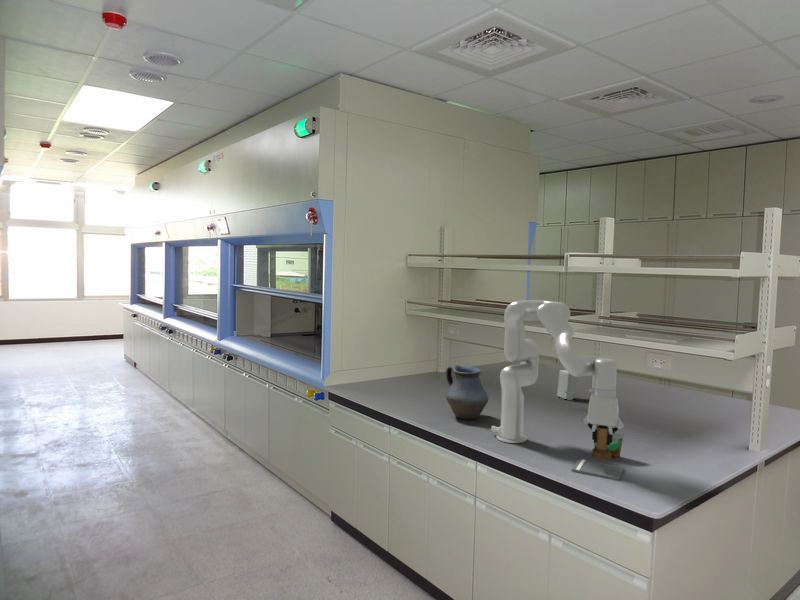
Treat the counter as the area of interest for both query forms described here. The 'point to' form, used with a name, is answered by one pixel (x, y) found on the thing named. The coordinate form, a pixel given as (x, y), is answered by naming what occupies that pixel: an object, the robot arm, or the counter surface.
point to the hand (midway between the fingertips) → (602, 442)
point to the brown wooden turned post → (601, 444)
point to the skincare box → (566, 385)
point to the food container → (615, 444)
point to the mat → (598, 469)
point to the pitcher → (465, 392)
